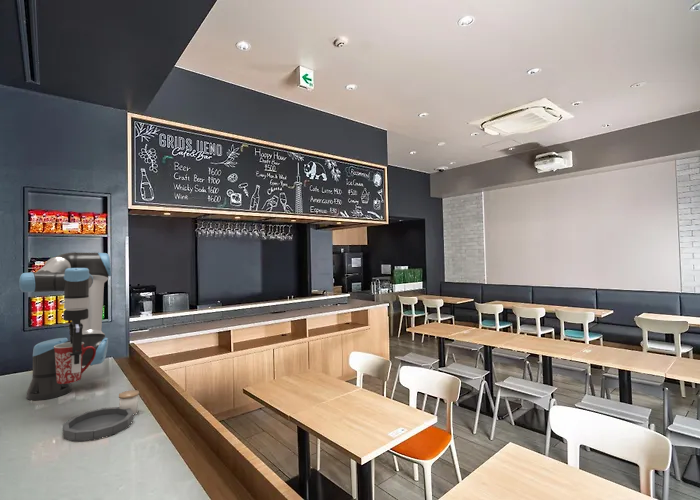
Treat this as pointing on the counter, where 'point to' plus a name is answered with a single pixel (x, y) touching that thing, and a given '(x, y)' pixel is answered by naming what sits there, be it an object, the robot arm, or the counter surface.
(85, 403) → the counter surface
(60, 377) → the mug
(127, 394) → the pot
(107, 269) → the robot arm
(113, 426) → the tray
